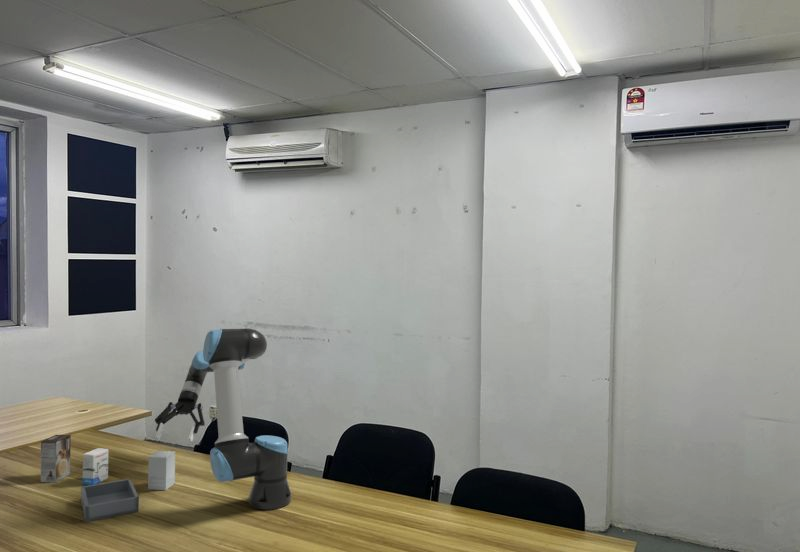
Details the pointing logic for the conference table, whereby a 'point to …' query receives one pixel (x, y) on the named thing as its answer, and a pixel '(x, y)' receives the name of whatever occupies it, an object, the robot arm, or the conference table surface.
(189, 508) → the conference table surface
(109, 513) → the tote
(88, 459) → the ink box
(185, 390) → the robot arm
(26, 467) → the conference table surface
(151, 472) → the supplement box
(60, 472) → the coffee box
